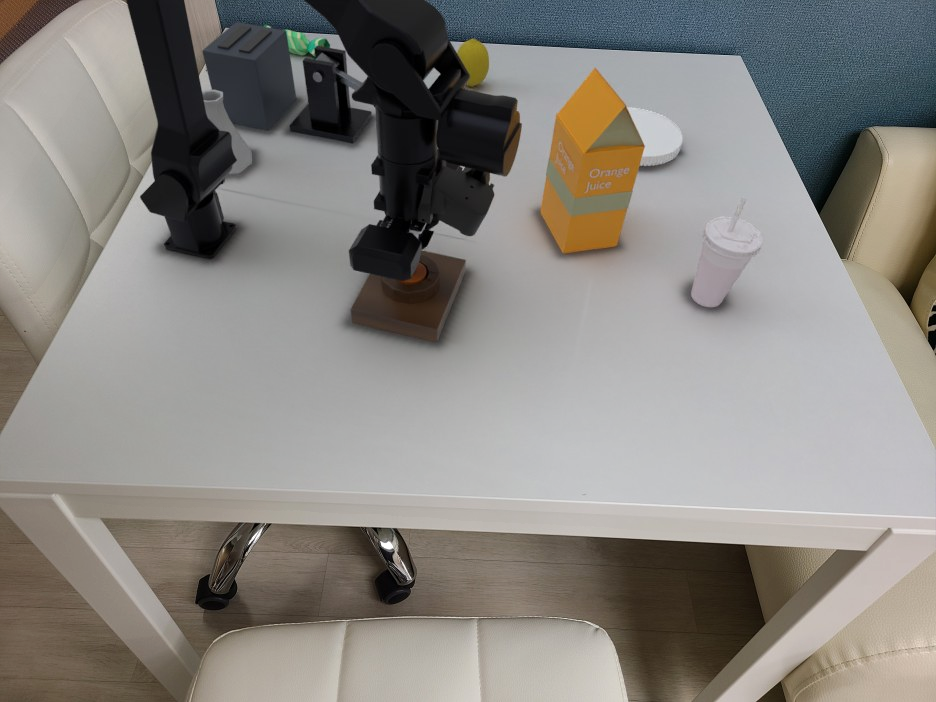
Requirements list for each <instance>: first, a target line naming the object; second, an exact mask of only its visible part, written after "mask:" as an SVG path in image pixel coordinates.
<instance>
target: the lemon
mask: <svg viewBox="0 0 936 702" xmlns="http://www.w3.org/2000/svg"><path fill="white" fill-rule="evenodd" d="M456 52H457V54H458V56H459V57H460V59H461V61H462V63H463V64H464V66H465V68H466V69H467V71H468V73H469V74H470V79H469V80H468V82H467V83H466V85H467V86H468V87H469V88H473V87H475V86H477V85H479V84H481V83H482V82H484V80H486V78H487V76H488V73H489V70H490V56H489V51H488V50H487V48H486V46H485V44H484V43H482V42H481V41H480V40H477V39H476V38H471V39H468V40H466V41H464V42H463V43H462V44H461V45H460V46H459V48H458V50H457V51H456Z"/></svg>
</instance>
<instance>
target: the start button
mask: <svg viewBox="0 0 936 702" xmlns="http://www.w3.org/2000/svg"><path fill="white" fill-rule="evenodd" d="M395 280H396V279H395ZM424 280H426V268H425V266H424V265H423V264H421V263H420V262H419V263H418V265H417V267H416V269H415V272H414V274H413V276H412V278H411V279H409V280H406V281H400V280H397V281H398V282H399V283H402V284H407V285H412V284H419V283H421V282H422V281H424Z"/></svg>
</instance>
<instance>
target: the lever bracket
mask: <svg viewBox="0 0 936 702" xmlns="http://www.w3.org/2000/svg"><path fill="white" fill-rule="evenodd" d="M314 51H315V57H314V58H308V57H304V59H303V60H302V66H303V72H304V73H303V74H304V82H305V88H306V89H305V90H306V95H307V96H306V98H307V104H306V105H305V107H304V108H303V109H302V110H301V111H300V112H299V114H298V115H297V116H296V117H295V118H294V119H293V121H292V122H291V123H290V124H289V131H290V132H292V133H297V134H301V135H307V136H313V137H318V138H322V139H328V140H332V141H333V140H334V141H338V142H343V143H348V144H354V143H355V142H356V140H357V139H358V137H359V136H360V135H361V133H362V132H363V130H364V129H365V128H366V126H367V125H368V123H369V122H370V121H371V120H372V118H373V116H372V115H373V114H372V111H371V110H366V109H362V108H361V109H360V108H355V107H351V99H350V89H349V88H350V87H349V86H347V85H345V84H343V83H342V82H340V81H338V80H336V71H335V63H332V62H326V61H321V60H315V59H316V58H317V57H318V56H319V55H320V54H321V53H323V54H325V55H327V56H329V57H330V58H332V59H334V60H336V61H338V62H339V66H338V69H339V70H341V71H342V72H344V73H346V74H348V66H347V65H348V64H347V52H346V50H345V49H338V48H332V47H330V48H328V47H322V46H316V47H315V48H314Z"/></svg>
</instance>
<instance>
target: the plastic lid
mask: <svg viewBox="0 0 936 702" xmlns="http://www.w3.org/2000/svg"><path fill="white" fill-rule="evenodd" d="M626 107H627V109H628V111H629V113H630V115H631V117H632V120H633V122H634V124H635V126H636V128H637V130H638V132H639V135H640V137H641V139H642V141H643V143H644V145H645V148H644V151H643V155H642V158H641V162H640V166H639V167H642V166H643V167H647V166H648V167H651V166H658V165H662V164H663V165H664V164H665V163H668V162H671V161H672V160H674V159H675V158H676V157H677V156H678V155H679V153H680V151H681V148H682V144H683V142H684V135H683V133H682V132H683V131H682V130H681V129H680V127H679V126H678V125H677V124H676V123H675V122H674V121H673V120H671V118H668V116H667V117H666V116H665V115H662V114H661V113H658V112H655V111H652V110H650V109H648V110H647V109H645V108H644V109H643V108H639V107H634V106H632V107H631V106H626Z"/></svg>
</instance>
